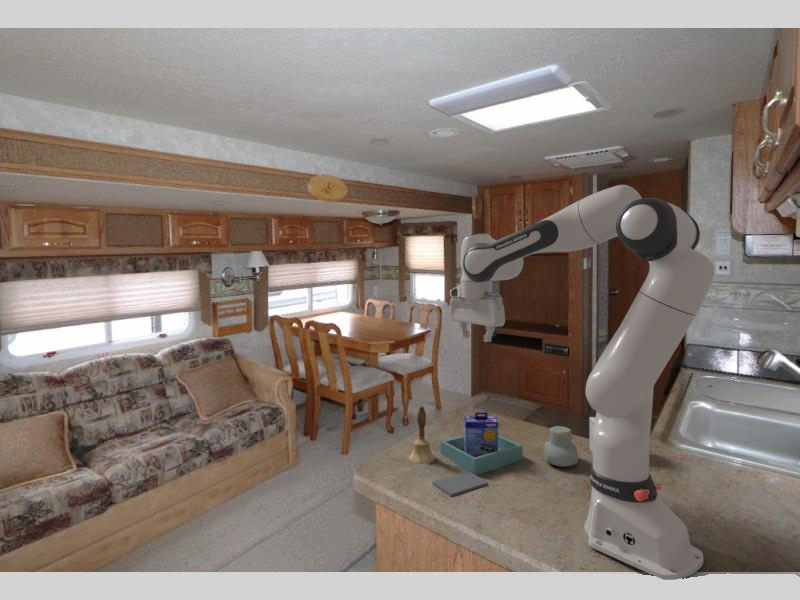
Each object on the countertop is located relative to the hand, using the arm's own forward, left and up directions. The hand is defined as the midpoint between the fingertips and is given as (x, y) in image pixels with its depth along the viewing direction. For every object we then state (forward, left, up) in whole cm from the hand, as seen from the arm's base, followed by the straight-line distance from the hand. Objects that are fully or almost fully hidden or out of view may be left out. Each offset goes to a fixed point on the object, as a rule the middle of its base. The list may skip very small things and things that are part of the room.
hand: (476, 339), depth 131 cm
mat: (-8, +13, -36) cm, 39 cm away
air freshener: (-13, -20, -37) cm, 44 cm away
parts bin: (+2, -3, -36) cm, 36 cm away
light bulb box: (-17, -37, -37) cm, 55 cm away
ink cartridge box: (+2, -3, -37) cm, 37 cm away
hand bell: (+11, +12, -37) cm, 40 cm away
